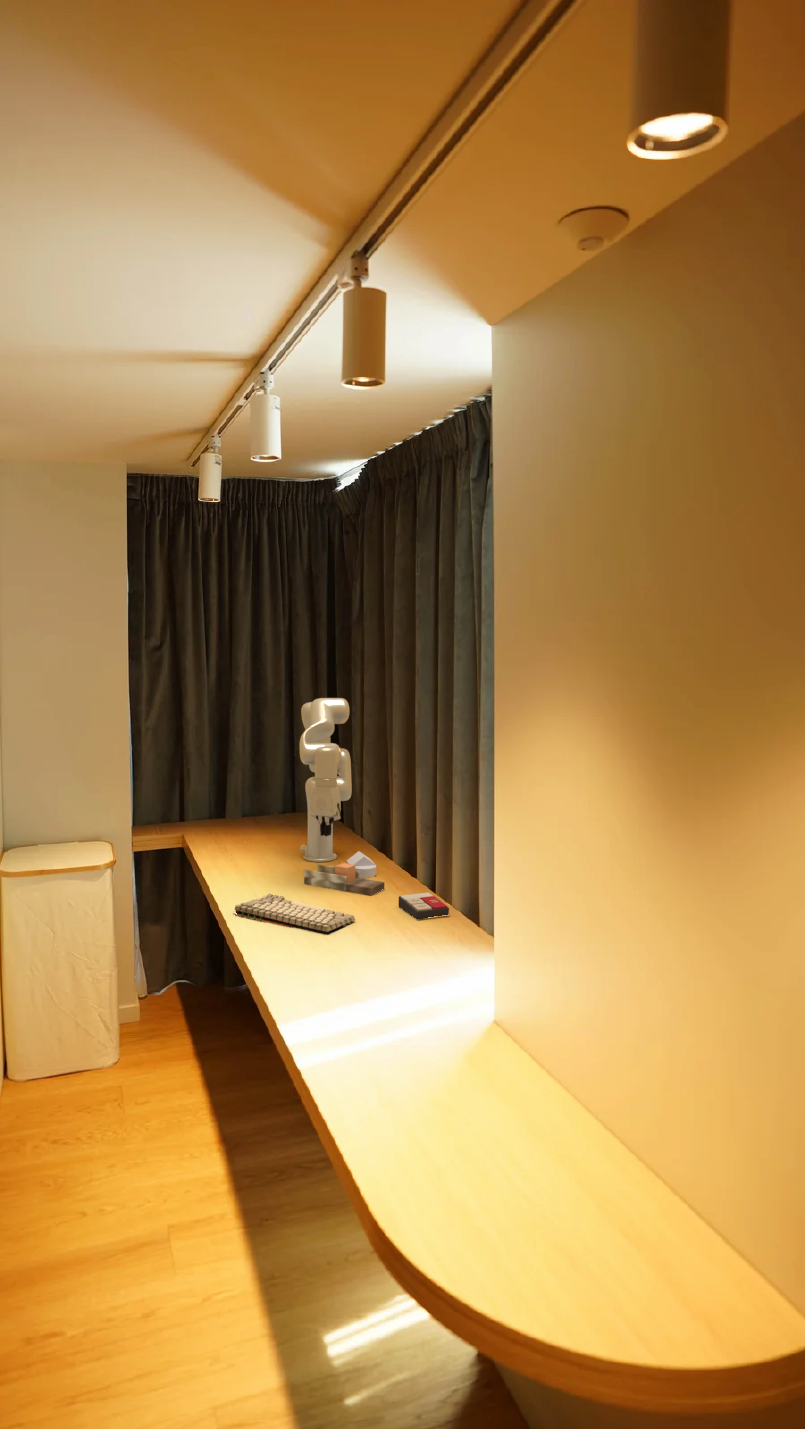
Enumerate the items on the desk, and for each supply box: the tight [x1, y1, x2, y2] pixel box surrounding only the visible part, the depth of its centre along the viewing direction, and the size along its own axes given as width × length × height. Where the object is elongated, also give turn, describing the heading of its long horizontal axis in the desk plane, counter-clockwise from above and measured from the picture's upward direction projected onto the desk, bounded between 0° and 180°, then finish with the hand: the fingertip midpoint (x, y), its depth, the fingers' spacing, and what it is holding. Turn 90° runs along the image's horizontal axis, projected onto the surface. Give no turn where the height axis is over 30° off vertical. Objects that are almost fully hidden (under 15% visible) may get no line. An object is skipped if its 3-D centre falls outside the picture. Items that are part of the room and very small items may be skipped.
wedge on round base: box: [346, 850, 377, 879], centre depth 348 cm, size 9×7×13 cm
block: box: [334, 862, 355, 883], centre depth 330 cm, size 5×5×5 cm
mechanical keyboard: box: [234, 892, 356, 936], centre depth 297 cm, size 38×19×3 cm, turn 59°
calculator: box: [397, 892, 450, 920], centre depth 304 cm, size 11×4×15 cm
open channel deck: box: [303, 864, 385, 896], centre depth 330 cm, size 27×9×5 cm, turn 61°
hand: (325, 835), depth 332 cm, fingers closed
